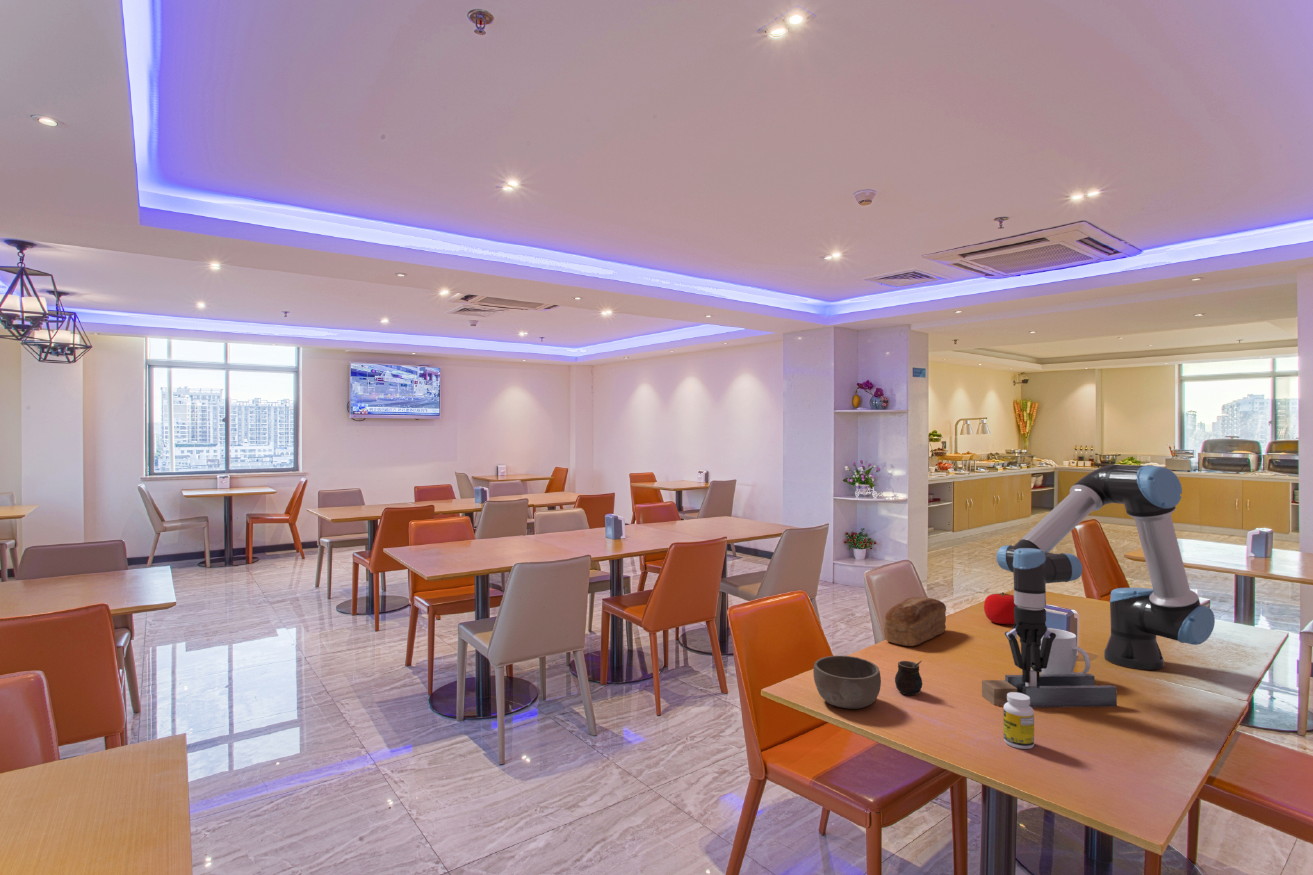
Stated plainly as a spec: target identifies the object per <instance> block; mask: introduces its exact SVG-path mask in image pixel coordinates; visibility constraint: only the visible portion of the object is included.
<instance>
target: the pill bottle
mask: <svg viewBox="0 0 1313 875" xmlns="http://www.w3.org/2000/svg"><path fill="white" fill-rule="evenodd" d="M1007 701H1008V702H1007V703H1005V704H1004V705H1003V740H1004V742H1005V743H1006V745H1008V746H1010V747H1011V748H1015V749H1022V750H1030V749H1033V748H1034V746H1035V712H1034V708H1032V707H1031V706H1029V705H1030V697H1029V696H1027V695H1025V694H1022V693H1017V692H1010V693H1008V694H1007Z"/></svg>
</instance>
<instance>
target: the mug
mask: <svg viewBox="0 0 1313 875" xmlns="http://www.w3.org/2000/svg"><path fill="white" fill-rule="evenodd" d="M1047 630H1049V631H1051V632H1053V633H1055V634H1056V637H1055V639H1054V640H1053V642H1052V646H1051V651H1050V655H1049V660H1048V664H1047V668H1046V669H1044V668H1043V669H1041V670H1042V672H1039V674H1040V675H1047V674H1088V672H1089V670H1090V669H1091V661H1090V656H1089V655H1088V653H1087V652H1086V651H1085V649H1084V648H1081V647H1080V646H1077V645H1078V644H1077V643H1078V642H1077V635H1076V634H1075V633H1074V632H1070V631H1069V630H1068V631H1067V630H1063V629H1058V628H1052V627H1047ZM1043 637H1044V635H1043ZM1043 637H1042V638H1041V644H1042V640H1043ZM1040 648H1041V646H1040ZM1078 652H1079V653H1080V654H1081V655H1082V656H1083V659H1084V662H1085V665H1084V666H1085V667H1084V669H1083V671H1081V672H1076V671H1074V670H1075V669H1076V668H1075V667H1076V662H1077V657H1078V656H1077V653H1078Z"/></svg>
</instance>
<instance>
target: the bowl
mask: <svg viewBox="0 0 1313 875" xmlns="http://www.w3.org/2000/svg"><path fill="white" fill-rule="evenodd" d="M813 664H814V665H813V671H812V672H813V681H814V684H815V687H816V690H817V692H818V694H819V696H820V697H821V698H822V700H824V702H826V703H828V704H829V705H831V706H833V707H836V708H837V707H838V708H841V709H848V710H850V709H851V710H853V709H854V710H858V709H863V708H866V707H867V706H870V705H872V704H873V703H874V702H875V701H876V699H877V698H878V696H879V694H880V691H881V686H882V679H881V678H882V677H881V671H880V668H879V667H878V666H877V664H875V663H873V662H871V661H870V660H867V659H864V658H862V657H861V658H860V657H856V656H851V655H829V656H824V657H820V658H819V659H817V660H816V661H815V662H814V663H813Z"/></svg>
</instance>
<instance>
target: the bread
mask: <svg viewBox="0 0 1313 875" xmlns="http://www.w3.org/2000/svg"><path fill="white" fill-rule="evenodd" d="M946 611H947V606H946V605H945V603H944V602H942V601H941V600H939V599H936V598H932V597H928V596H913V597H910V598H907V599H904V600H902V601H900V602H899V603H897V604H896V605H894V606H893V607H891V608H890V609H889V610H888V611H887V612H886V613H885V615H884V628H883V629H884V631H883V632H884V639H885V640H886V641H887V642H889V643H893V644H895V645H900V646H905V647H915V646H918V645H920V644H922V643H924V642H927V641H929V640H932V639H933V638H935V637H938V635H941V634H943V633H944V631H945V630H946V629H947V625H946V621H947V620H946V619H947V616H946V615H947V614H946Z"/></svg>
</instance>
